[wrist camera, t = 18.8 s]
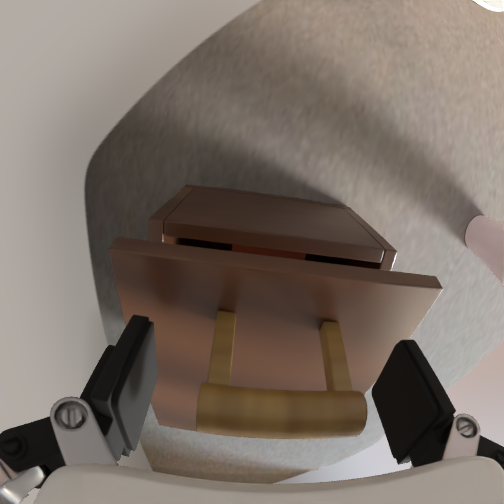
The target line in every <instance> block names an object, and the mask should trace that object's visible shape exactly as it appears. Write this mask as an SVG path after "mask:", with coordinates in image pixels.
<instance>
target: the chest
mask: <svg viewBox="0 0 504 504" xmlns="http://www.w3.org/2000/svg"><path fill="white" fill-rule="evenodd" d="M148 241H152V242H160V243H168V244H176V245H184V246H192V247H200V248H208V249H216V250H224V251H232V245H233V244H237V245H245V246H253V247H261V248H269V249H276V250H284V251H292V252H300V253H306V256H305V261H313V262H321V263H329V264H338V265H346V266H354V267H362V268H370V269H379V270H387V271H391V270H392V267H393V264H394V261H395V258H396V255H397V251H396V250H395V249H394V248H393V247H392V246H391V245H390V244H389V243H388V242H387V241H386V240H385V239H384V238H383V237H382V236H381V235H380V234H378V233H377V232H376V231H375V230H374V229H373V228H372V227H371V226H370V225H369V224H368V223H366V222H365V221H364V220H363V219H362V218H361V217H360V216H359V215H358V214H356V213H355V212H354V211H353V210H352V209H351V208H350V207H345V206H340V205H334V204H328V203H322V202H316V201H310V200H303V199H297V198H290V197H283V196H277V195H269V194H262V193H255V192H247V191H239V190H231V189H222V188H213V187H204V186H194V185H186V186H185V187H184V188H183V189H181V190H180V191H179V192H178V193H177V194H176V195H175V196H173V197H172V198H171V199H170V200H169V201H168V202H167V203H166V204H165V205H163V206H162V207H161V208H160V209H159V210H158V211H157V212H156V213H155V214H154V215H153V216H152V217H150V218H149V235H148Z"/></svg>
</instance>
